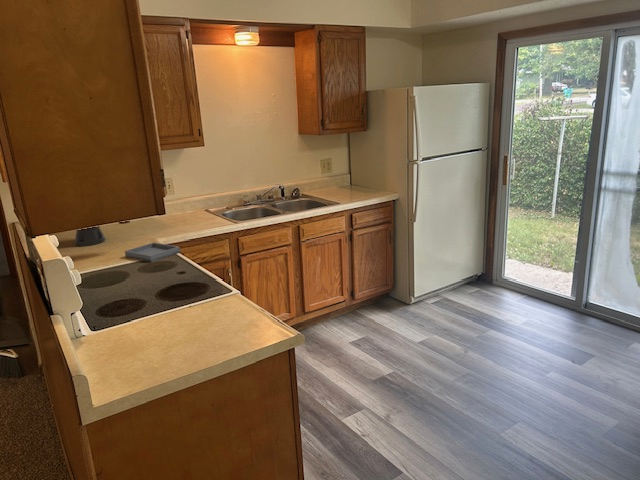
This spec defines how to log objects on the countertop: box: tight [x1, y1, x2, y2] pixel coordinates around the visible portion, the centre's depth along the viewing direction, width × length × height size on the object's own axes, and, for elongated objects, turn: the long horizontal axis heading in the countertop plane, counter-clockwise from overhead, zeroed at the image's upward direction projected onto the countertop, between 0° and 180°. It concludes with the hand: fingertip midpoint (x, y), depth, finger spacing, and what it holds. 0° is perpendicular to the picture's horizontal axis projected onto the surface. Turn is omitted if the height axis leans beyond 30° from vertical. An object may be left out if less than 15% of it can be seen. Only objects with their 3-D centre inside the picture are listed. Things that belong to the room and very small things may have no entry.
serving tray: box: [124, 241, 181, 263], centre depth 236 cm, size 20×17×3 cm
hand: (123, 216), depth 242 cm, fingers closed on ice cream bowl, 11 cm apart
